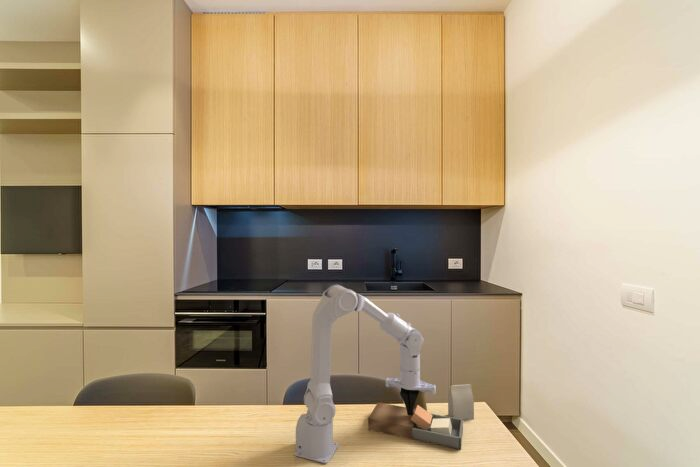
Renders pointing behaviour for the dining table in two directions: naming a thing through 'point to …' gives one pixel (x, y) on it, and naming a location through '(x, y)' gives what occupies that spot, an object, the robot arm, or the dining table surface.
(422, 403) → the olive pepper mill
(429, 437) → the tray
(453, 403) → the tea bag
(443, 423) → the cream ceramic tile
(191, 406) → the dining table surface
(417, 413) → the terracotta tile
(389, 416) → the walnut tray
